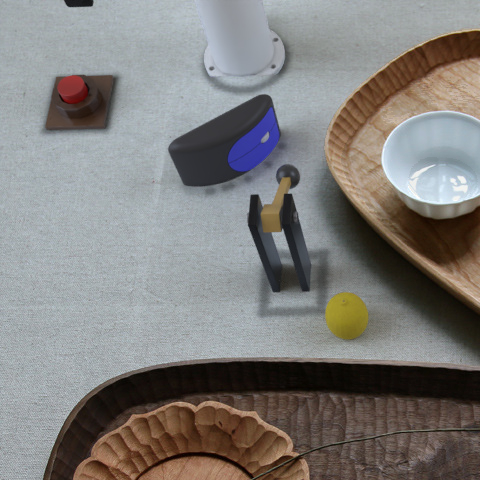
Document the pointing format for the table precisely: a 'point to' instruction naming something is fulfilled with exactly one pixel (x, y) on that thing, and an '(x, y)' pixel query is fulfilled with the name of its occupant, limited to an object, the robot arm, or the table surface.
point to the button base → (81, 106)
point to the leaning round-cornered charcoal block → (227, 144)
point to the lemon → (346, 315)
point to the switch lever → (279, 198)
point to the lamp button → (72, 89)
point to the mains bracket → (268, 247)
